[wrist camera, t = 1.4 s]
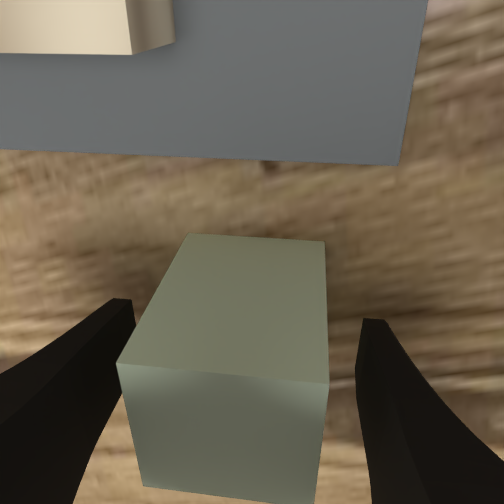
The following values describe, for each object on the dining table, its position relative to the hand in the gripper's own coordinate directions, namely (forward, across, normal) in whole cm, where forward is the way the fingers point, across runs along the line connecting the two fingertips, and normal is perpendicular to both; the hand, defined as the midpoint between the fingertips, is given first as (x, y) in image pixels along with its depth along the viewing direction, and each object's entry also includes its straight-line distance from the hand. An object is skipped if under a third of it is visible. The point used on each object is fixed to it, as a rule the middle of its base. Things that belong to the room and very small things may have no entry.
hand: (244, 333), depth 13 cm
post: (+2, 0, 0) cm, 2 cm away
